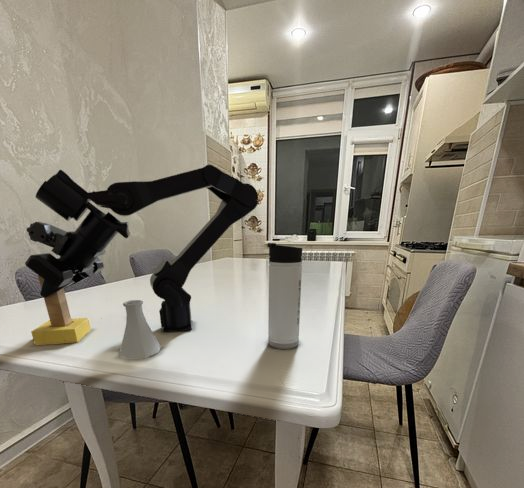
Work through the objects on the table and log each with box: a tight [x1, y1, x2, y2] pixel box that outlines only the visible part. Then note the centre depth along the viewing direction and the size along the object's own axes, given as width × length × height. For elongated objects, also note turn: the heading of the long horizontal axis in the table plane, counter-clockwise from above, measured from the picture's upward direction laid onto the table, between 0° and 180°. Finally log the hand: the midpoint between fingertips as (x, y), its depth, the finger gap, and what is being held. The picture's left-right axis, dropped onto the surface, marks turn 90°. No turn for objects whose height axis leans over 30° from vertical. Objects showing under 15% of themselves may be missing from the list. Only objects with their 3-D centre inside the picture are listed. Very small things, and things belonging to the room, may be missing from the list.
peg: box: [37, 274, 72, 327], centre depth 61 cm, size 3×3×13 cm
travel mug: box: [266, 242, 303, 350], centre depth 57 cm, size 6×7×20 cm
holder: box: [30, 317, 92, 346], centre depth 63 cm, size 8×8×3 cm
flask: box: [118, 299, 162, 360], centre depth 54 cm, size 7×7×10 cm
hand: (47, 294), depth 60 cm, fingers closed on peg, 3 cm apart
